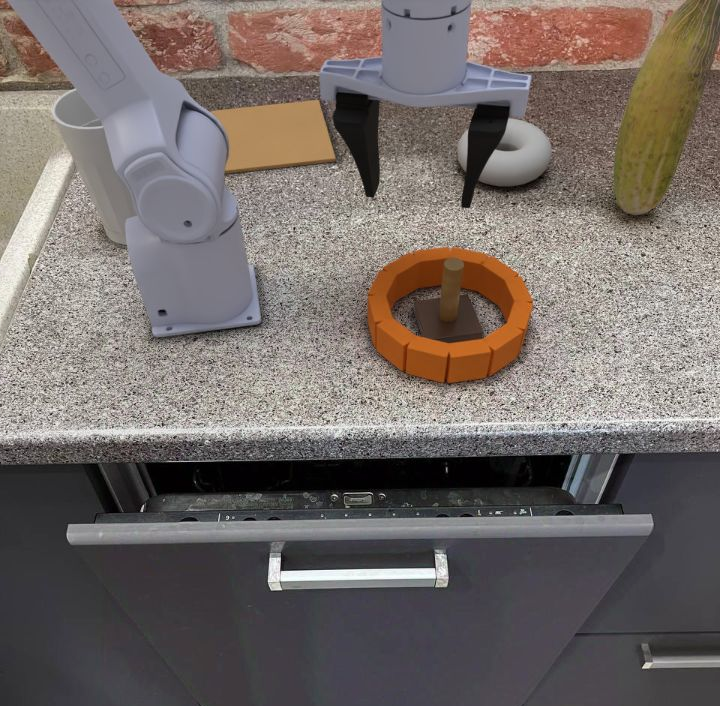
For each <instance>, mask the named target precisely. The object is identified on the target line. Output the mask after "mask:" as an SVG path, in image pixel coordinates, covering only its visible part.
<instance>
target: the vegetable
mask: <svg viewBox="0 0 720 706" xmlns="http://www.w3.org/2000/svg"><path fill="white" fill-rule="evenodd" d="M719 43H720V0H685V1H684V2H683V3H682V4H681V5H679V7H677V8H676V9H675V11H674V12H672V13H671V15H670V16H669V17H668V18H667V19H666V20H665V22H664V23H663V24H662V26H661V27H660V30H659V31H658V33H657V34H656V36H655V38H654V41H653V42H652V44H651V46H650V48H649V50H648V52H647V54H646V57H645V58H644V60H643V63H642V64H641V66H640V69H639V71H638V73H637V75H636V78H635V80H634V82H633V85H632V88H631V90H630V93H629V96H628V98H627V102H626V105H625V109H624V111H623V116H622V119H621V122H620V125H619V130H618V133H617V137H616V145H615V153H614V159H613V192H614V196H615V200H616V203H617V205H618V206H619V208H620V209H621V211H623V212H624V213H626V214H628V215H632V216H638V215H644V214H646V213H649V212H650V211H651V210H653V209H654V208H655V207H657V205H659V204H660V202H661V201H663V198H664V197H665V196H666V194H667V192H668V190H669V188H670V187H671V184H672V182H673V179H674V177H675V175H676V172H677V169H678V166H679V162H680V160H681V156H682V153H683V150H684V147H685V144H686V142H687V139H688V136H689V133H690V131H691V127H692V124H693V121H694V119H695V116H696V114H697V111H698V108H699V106H700V105H699V104H700V102H701V100H702V96H703V93H704V91H705V87H706V85H707V82H708V78H709V75H710V72H711V70H712V67H713V64H714V62H715V61H714V60H715V58H716V57H715V56H716V54H717V50H718V47H719Z"/></svg>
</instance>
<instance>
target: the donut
mask: <svg viewBox="0 0 720 706" xmlns="http://www.w3.org/2000/svg"><path fill="white" fill-rule="evenodd" d="M456 147H457V148H456V149H457V150H456V151H457V161H458V164H459V165H460V167H461V168H462V169H463V171H464V172H465V173H466V167H467V148H468V129H466V130H465V131H464V132H463V133H462V135H461V136H460V139H459V141H458V143H457V146H456ZM552 156H553V149H552V145H551V141H550V139H549V137H548V136H547V135H546V133H545V132H544V131H543V130H542V129H541V128H539V127H537V126H536V125H534V124H533V123H530V122H527V121H525V120H522V119H517V118H511V117H509V118H508V123H507V127H506V131H505V134H504V136H503V138H502V139H501V141H500V143H499V145H498V146H497V148H496V149H495V150H494V152H493V153H492V155H491V157H490V158H489V160H488V162H487V163H486V165H485V167H484V169H483V171H482V173H481V175H480V177H479V180H478V182H481V183H483V184H484V185H485V184H486V185H489V186H490V185H491V186H495V187H516V186H521V185H525V184H527V183H530V182H532V181H534V180H536V179H538V178H539V177H540V176H541V175H542V174H544V173H545V171H546V170H547V169H548V167H549V164H550V161H551V160H552Z"/></svg>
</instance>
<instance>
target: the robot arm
mask: <svg viewBox="0 0 720 706" xmlns="http://www.w3.org/2000/svg"><path fill="white" fill-rule="evenodd" d="M6 1H7V3H8V4H9V5H10V6H11V8H12V9H13V10H14V12H15V13H16V14H17V15H18V17H19V18H20V19H21V20H22V22H23V24H24V25H25V26H26V27H27V29H28V30H29V31H30V32H31V34H32V35H33V36H34V38H35V39H36V40H37V41H38V43H39V44H40V45H41V47H42V48H43V49H44V50H45V52H46V53H47V54H48V55H49V57H50V59H52V60H53V62H54V63H55V64H56V66H57V67H58V69H59V70H60V72H62V73H63V75H64V76H65V77H66V79H67V80H68V81H69V82H70V84H71V85H72V86H73V87H74V89H76V90H77V91H78V93H79V94H80V95H81V96H82V98H83V99H84V100H85V102H86V103H87V104H88V105H89V107H90V108H91V109H92V111H93V112H94V113H95V114H96V116H97V117H98V118H99V120H100V121H101V122H102V125H103V128H104V131H105V135H106V139H107V143H108V147H109V151H110V154H111V158H112V162H113V166H114V169H115V171H116V173H117V174H118V175H119V177H120V178H121V179H122V180H123V182H124V183H125V184H126V186H127V187H128V189H129V191H130V194H131V196H132V200H133V205H134V209H135V211H136V214H137V216H134V217H130V218H127V219H126V222H125V233H126V242H127V245H126V248H127V253H128V257H129V262H130V266H131V271H132V273H133V276H134V279H135V282H136V285H137V288H138V291H139V293H140V297H141V299H142V302H143V306H144V307H145V311H146V313H147V317H148V319H149V322H150V326H151V333H152V336H153V337H154V338H164V337H172V336H173V337H174V336H180V335H187V334H196V333H202V332H209V331H217V330H225V329H226V330H227V329H232V328H233V329H234V328H241V327H247V326H256V325H259V324H261V322H262V314H261V307H260V300H259V294H258V292H259V291H258V285H257V280H256V272H255V266H254V265H253V264H250V263H249V262H248V256H247V251H246V246H245V239H244V234H243V229H242V221H241V218H240V217H241V216H240V211H239V206H238V205H239V204H238V202H237V201H238V200H237V198H236V197H235V195H234V194H233V192H232V191H231V190H230V188H229V186H228V185H227V183H226V181H225V174H224V173H225V166H226V163H227V160H228V157H229V149H230V147H229V140H228V136H227V133H226V131H225V129H224V127H223V125H222V124H221V122H220V121H219V120H218V119H217V118H216V117H215V116H214V115H213V114H212V113H211V112H210V111H209V110H208V109H206V108H205V107H203V106H202V105H200V104H199V103H198V102H197V101H196V100H194V99H193V98H192V96H191V94H190V93H189V92H188V91H187V89H186V88H185V86H184V84H183V83H182V82H181V81H180V80H178V78H177V79H176V78H175V77H172V76H171V75H168V74H166V73H163V72H162V71H160V70H159V69H158V67H157V66H156V64H155V62H154V61H153V59H152V58H151V56H150V55H149V54H148V52H147V51H146V49H145V48H144V46H143V44H142V43H141V41H140V39H138V37H137V36H136V34H135V33H134V31H133V30H132V28H131V27H130V24H128V22H127V20H126V19H125V18H124V16H123V15H122V13H121V11H120V10H119V8H118V7H117V6H116V4H115V2H114V1H113V0H6ZM380 7H381V8H380V12H381V14H380V15H381V17H380V19H381V56H375V57H365V58H364V57H363V58H353V59H326V60H325V61H324V63H323V64H322V66H321V68H320V70H319V71H318V79H319V81H318V82H319V92H320V100H321V101H326V102H335V105H334V106H335V109H334V111H333V113H332V122H333V127H334V129H335V130H336V132H337V133H338V134H339V135H340V137H341V138H342V140H343V142H344V143H345V145H346V146H347V149H348V151H349V152H350V154H351V156H352V158H353V160H354V163H355V165H356V167H357V170H358V173H359V176H360V179H361V183H362V186H363V191H364V195H365V197H366V198H371V199H374V198H375V196H376V193H377V190H378V188H379V186H380V184H381V183H380V181H381V179H380V178H381V163H380V149H379V147H380V146H379V121H380V103H381V102H390V103H394V104H396V105H397V104H398V105H400V106H401V105H402V106H405V107H411V108H435V107H453V108H462V109H463V108H465V109H474V110H473V113H472V116H471V118H470V123H469V125H468V128H467V130H468V148H467V167H466V172H465V177H464V183H463V187H462V188H463V189H462V194H461V200H460V202H461V203H460V208H463V209H470V208H471V207H472V202H473V199H474V195H475V190H476V187H477V185H478V183H479V181H478V180H479V177H480V175H481V173H482V171H483V169H484V167H485V165H486V163H487V162H488V160H489V158H490V157H491V155H492V153H493V152H494V150H495V149H496V148H497V146H498V145H499V143H500V141H501V139H502V138H503V136H504V134H505V131H506V127H507V123H508V118H510V117H512V118H523V119H524V118H525V117H526V112H527V107H528V103H529V102H528V101H529V96H530V91H531V83H532V78H533V76H532V75H531V74H524V73H517V72H511V71H506V70H502V69H498V68H494V67H490V66H488V65H483V64H479V63H475V62H472V61H467V59H468V47H469V35H470V26H471V25H470V24H471V11H472V10H471V9H472V0H381V1H380Z"/></svg>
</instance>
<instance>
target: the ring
mask: <svg viewBox="0 0 720 706" xmlns="http://www.w3.org/2000/svg"><path fill="white" fill-rule="evenodd" d="M412 252H413V253H411V252H408V253H406V254H404V255H402V256H400V257H399V258H396V259H395V260H394V261H391V262H390V263H388V264H386V265H384V266H383V267H382V269H380V270H379V271H378V273H377V274H376V276H375V279H374V280H373V283H372V284H371V286H370V288H369V289H368V292H367V302H366V305H367V309H366V310H367V311H366V313H367V314H366V315H367V326H368V328H369V330H368V331H369V333H370V336H371V340H372V345H373V347H374V348H375V349H376V352H377V353H378V354H380V355H381V356H382V357H383V358H385V359H386V360H387V361H388V362H390V363H391V365H393V366H394V367H396V369H398V370H399V371H400V372H404V371H405V374H406V375H410V376H414V377H418V378H422V379H427V380H430V381H435V382H439V383H442V384H444V382H445V380H446V382H447V384H452V383H460V382H467V381H473V380H480V379H486V378H487V376H488V377H492V376H493V375H494V374H496V373H497V372H498V371H500V370H502V369H503V368H504V367H506V366H508V365H509V364H510V363H512V362H513V361H514V360H516V359H517V358H518V356H519V355H520V353H521V351H522V347H523V345H524V341H525V338H526V335H527V331H528V328H529V324H530V320H531V316H532V313H533V312H532V311H533V308H534V300H533V297H532V295H531V294H530V292H529V289H528V287H527V285H526V283H525V281H524V279H523V277H522V275H519V272H517V271H516V270H514V269H513V268H511V267H509V266H508V265H507V264H505V263H504V262H502V261H500V260H499V259H498V258H496V257H494V256H493V255H489V253H485V252H481V251H475V250H472V249H471V250H470V249H466V248H460V247H455V246H452V247H451V249H450V246H443V247H435V248H434V247H433V248H428V249H427V248H426V249H419V250H413V251H412ZM449 258H458V259H460V260H462V261H463V263H464V268H463V276H462V283H461V289H465V290H470V291H475V292H477V293H479V294H480V295H482V296H484V297H485V298H487V299H488V300H489V301H491V302H492V303H493V304H495V305H496V306H498V307H499V310H500V311H501V314H502V317H503V318H504V320H505V324H503V325H501V326H500V327H498V328H497V329H496V330H494V331H492V332H491V333H489V334H488V335H486V336H485V337H482V339H478V340H470V341H463V342H456V343H445V342H441V341H436V340H432V339H428V338H424V337H422V336H420V335H417V334H415V333H413V332H412V331H410V329H408V328H406V326H405V325H403V324H402V323H400V322H399V321H398V320H397V319H395V318H394V316H393V313H392V309H393V308H394V305H395V304H396V302H397V301H399V300H401V299H403V298H404V297H406V296H407V295H409V294H411V293H412V292H414V291H416V290H417V289H422V288H432V287H439V286H442V278H443V268H444V262H445V261H446V260H447V259H449Z"/></svg>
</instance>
